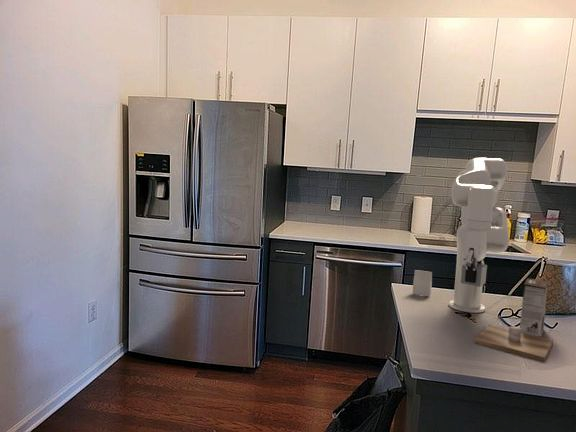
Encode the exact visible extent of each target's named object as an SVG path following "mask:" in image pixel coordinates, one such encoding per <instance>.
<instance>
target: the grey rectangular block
mask: <svg viewBox="0 0 576 432" xmlns="http://www.w3.org/2000/svg"><path fill="white" fill-rule="evenodd" d="M432 284H433V271H426V270H425V271H424V270H421V269H420V270H417V269H414V276H413V281H412V293H411V294H417V295H416V296H418V295H423V296H422V297H425V296H428V297H427V298H430V297H431V296H432ZM430 295H431V296H430Z"/></svg>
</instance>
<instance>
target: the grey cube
mask: <svg viewBox="0 0 576 432" xmlns="http://www.w3.org/2000/svg"><path fill="white" fill-rule="evenodd" d="M473 265H474V263H473ZM487 269H488V265H487V264H485V263H484V264H478V263H477V266H476V271H477V275H476V283H470V282H466V281H465V274H466V263H465V264H463V265H462V274H461V283H463V284H468V285H473V286H478V287H481V286H482V285H483V286H484V285H485V284H486V282H487V281H486V280H487ZM483 286H482V287H483Z"/></svg>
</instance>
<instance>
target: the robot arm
mask: <svg viewBox="0 0 576 432" xmlns="http://www.w3.org/2000/svg"><path fill="white" fill-rule="evenodd" d="M464 168H465V169H464V170H461V171H459V172H457V173H458V174H457V175H456V177H455V179H454V180H453V182H452V185H451V202H452V203H453V205H455V206H457V207H461V212H460V215H461V217H460V220H461V225H460V226H458V227H457V230H456V266H455V278H454V279H455V280H454V289H453V290H454V292H453V299H452V300H450V301H448V306H449V307H450V308H451V309H454V310H457V311H460V312H463V313H464V312H465V313H474V314H479V313H483V312H485V310H486V306H485V305H484V304H482V296H483V286H484V284H483V285H482V286H481V287H478V286H473V285H468V284H463V283H461V274H462V265H463V264H465V263H466V274H465V281H466V282H470V283H476V275H477V271H476V266H477V263H478V264H484V265H485V262H484V259H485V258H486V256H487V252H489V253H503V252H505V251H507V250H508V249H507V248H509V243H510V237H509V236H510V234H509V224H508V215H507V213H506V210H505V209H503V208H501V207H499V206H495V205H496V204H497V203H498V200H499V191H500V190H501V189H503V187H504V183H505V181H506V179H507V175H508V164H507V163H506V161H505V160H504V159H502V158H491V157H490V158H487V157H475V158H472V159H469V160H468V161H467V163H466V164H465V167H464ZM473 263H474V265H473Z"/></svg>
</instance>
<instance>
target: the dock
mask: <svg viewBox="0 0 576 432" xmlns="http://www.w3.org/2000/svg"><path fill="white" fill-rule="evenodd" d="M484 328H485V329H483V330H482V331H481V332H480V333H479V334H478V335H477V336H476V337H475V339H474V343H475V344H478V345H481V346H486V347H489V348H493V349H496V350H499V351H503V352H508V353H510V354H515V355H519V356H522V357H526V358H530V359H533V360H537V361H541V362H545V361H546V358H547V357H548V354H549V352H550V350H551V349H552V346H553V343H554V339H549V338H547V337H546V338H545V337H542V336H541V337H540V336H535V335H531V334H526V333H522V332H521V328H520V326H519V327H518V326H514V325H513V326H509V328H505V327H500V326H496V325H492V324H488V325H487V326H486V327H484Z"/></svg>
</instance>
